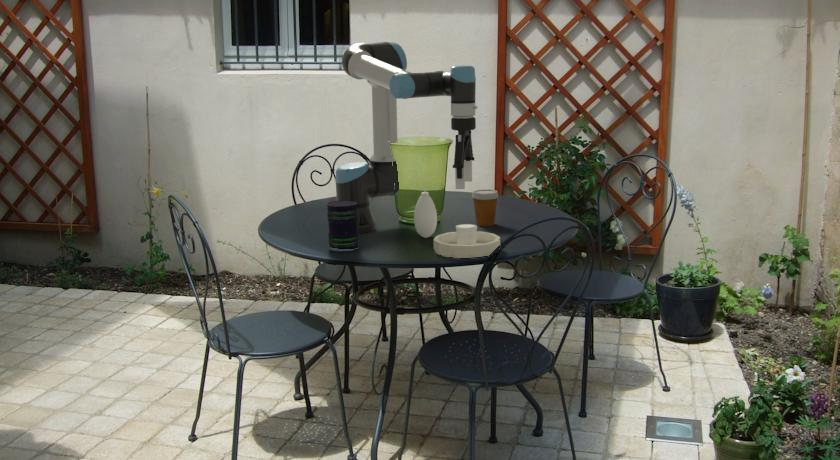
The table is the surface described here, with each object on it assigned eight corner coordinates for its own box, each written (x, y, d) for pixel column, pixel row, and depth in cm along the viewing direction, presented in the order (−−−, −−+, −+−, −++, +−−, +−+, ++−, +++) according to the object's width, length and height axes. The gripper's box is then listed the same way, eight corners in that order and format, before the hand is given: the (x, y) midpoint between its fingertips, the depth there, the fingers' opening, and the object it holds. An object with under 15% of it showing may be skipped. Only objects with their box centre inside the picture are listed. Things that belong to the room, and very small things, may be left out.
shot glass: (462, 251, 275) (462, 229, 273) (451, 246, 281) (451, 225, 279) (481, 248, 278) (481, 226, 276) (470, 243, 284) (470, 222, 282)
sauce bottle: (414, 234, 303) (413, 183, 299) (437, 234, 303) (436, 182, 299) (414, 240, 296) (412, 186, 292) (437, 239, 295) (436, 186, 292)
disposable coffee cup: (497, 227, 311) (496, 194, 308) (470, 227, 313) (469, 193, 310) (500, 222, 320) (500, 189, 318) (474, 221, 322) (473, 189, 319)
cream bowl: (428, 257, 272) (428, 244, 271) (441, 242, 291) (441, 230, 291) (494, 259, 267) (494, 246, 267) (503, 243, 287) (503, 231, 286)
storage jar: (334, 253, 280) (332, 207, 277) (324, 247, 289) (322, 202, 286) (363, 249, 284) (362, 204, 281) (353, 243, 293) (351, 199, 289)
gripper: (468, 121, 259) (469, 192, 263) (481, 112, 282) (482, 178, 287) (443, 121, 260) (444, 192, 265) (458, 112, 284) (459, 178, 289)
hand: (464, 185), depth 276 cm, fingers open, 13 cm apart
